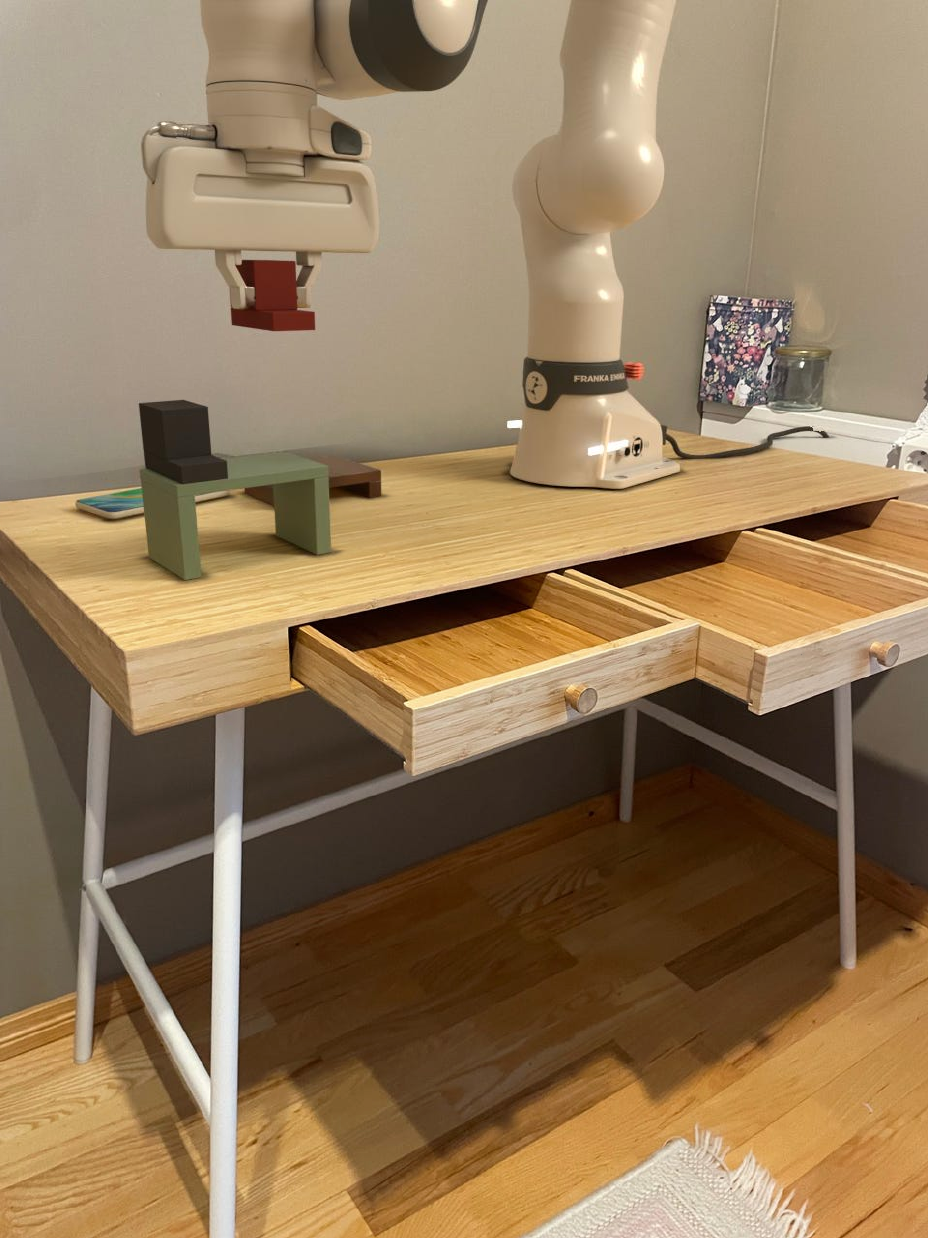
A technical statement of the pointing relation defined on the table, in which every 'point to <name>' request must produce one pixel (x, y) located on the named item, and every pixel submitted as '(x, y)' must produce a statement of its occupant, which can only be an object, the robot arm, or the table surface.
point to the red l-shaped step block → (272, 297)
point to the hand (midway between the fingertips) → (272, 308)
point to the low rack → (335, 479)
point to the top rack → (293, 487)
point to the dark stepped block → (179, 442)
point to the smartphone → (126, 503)
